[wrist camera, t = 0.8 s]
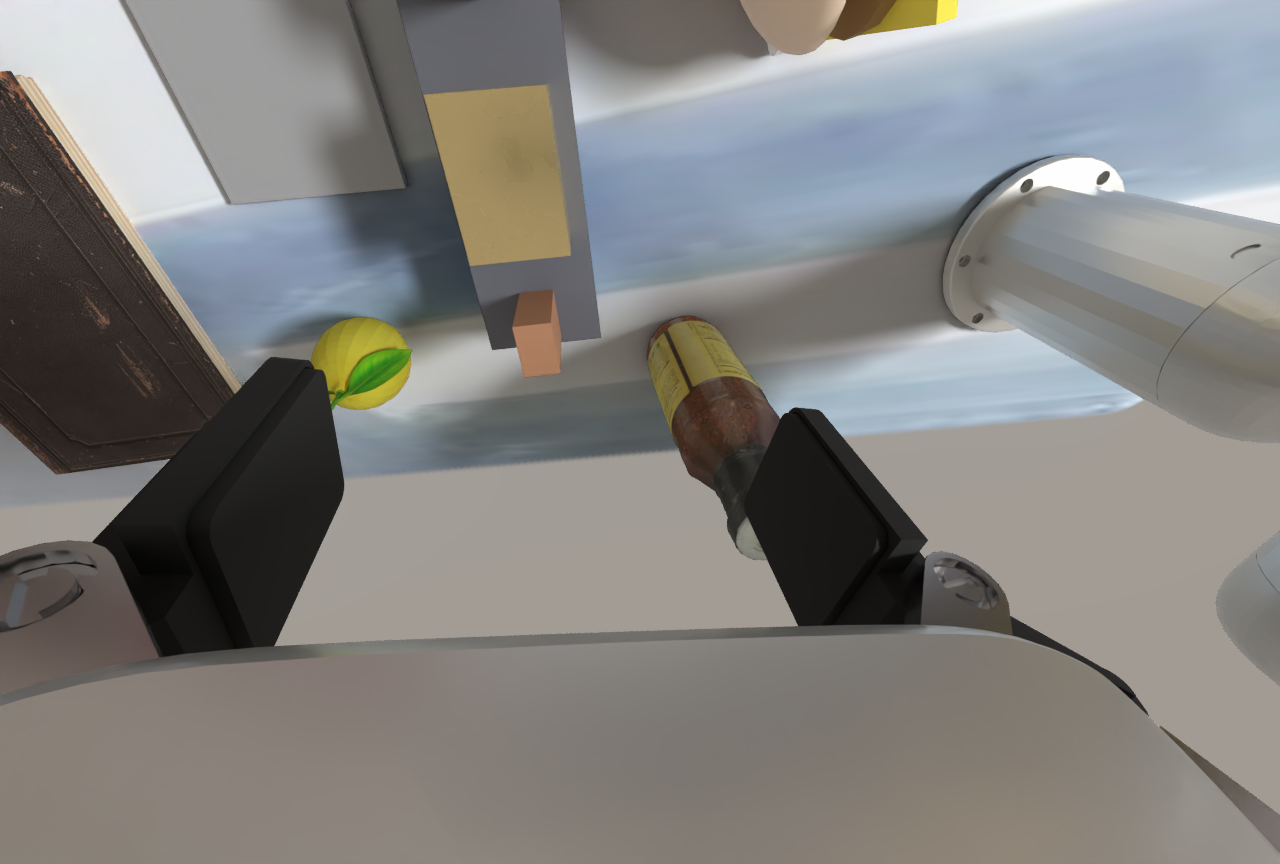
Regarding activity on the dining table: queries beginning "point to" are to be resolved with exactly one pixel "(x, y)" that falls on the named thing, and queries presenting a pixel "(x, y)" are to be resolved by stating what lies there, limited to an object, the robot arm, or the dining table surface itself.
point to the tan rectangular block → (503, 172)
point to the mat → (275, 94)
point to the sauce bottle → (713, 415)
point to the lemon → (362, 362)
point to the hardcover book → (88, 310)
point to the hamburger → (838, 19)
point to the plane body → (535, 54)
